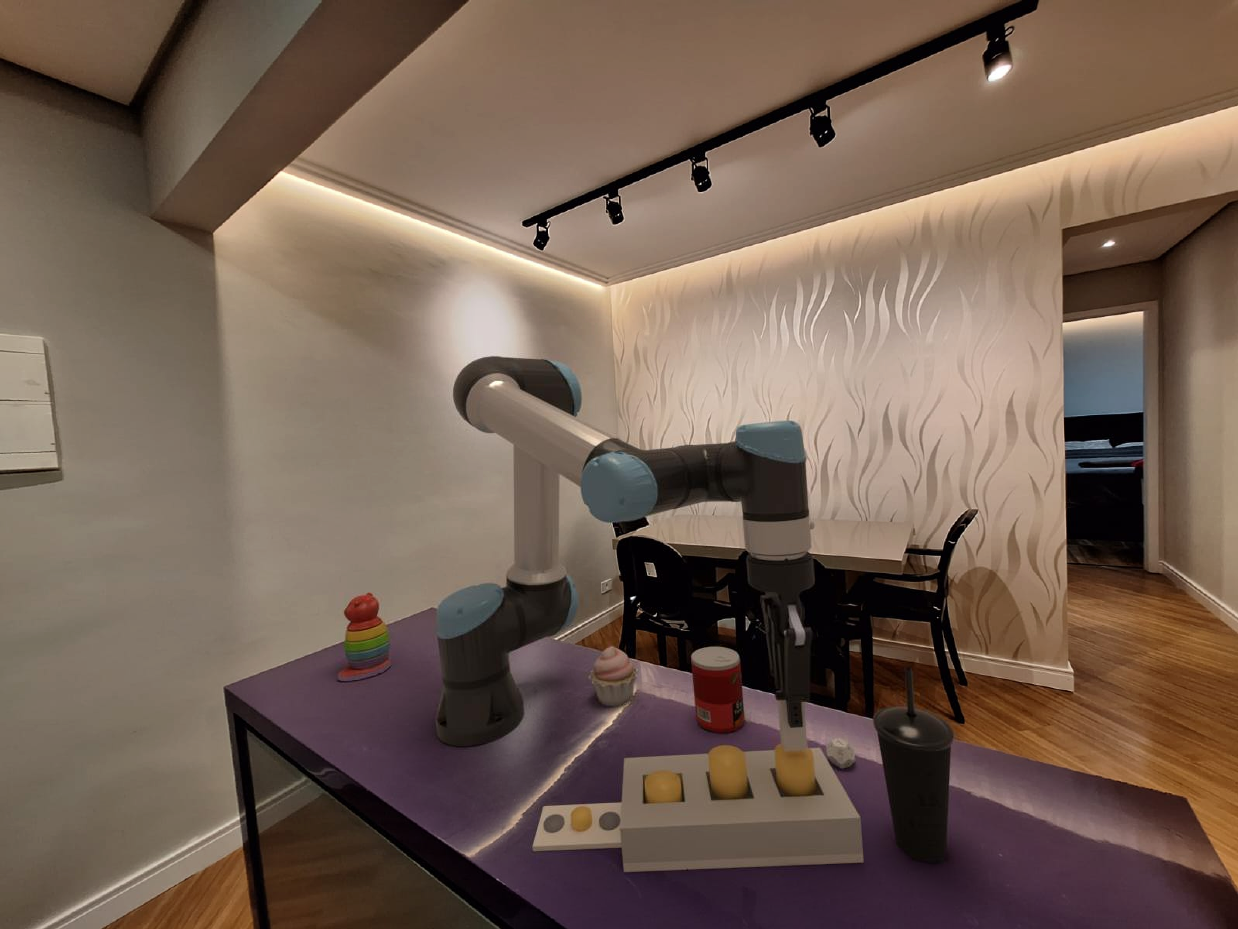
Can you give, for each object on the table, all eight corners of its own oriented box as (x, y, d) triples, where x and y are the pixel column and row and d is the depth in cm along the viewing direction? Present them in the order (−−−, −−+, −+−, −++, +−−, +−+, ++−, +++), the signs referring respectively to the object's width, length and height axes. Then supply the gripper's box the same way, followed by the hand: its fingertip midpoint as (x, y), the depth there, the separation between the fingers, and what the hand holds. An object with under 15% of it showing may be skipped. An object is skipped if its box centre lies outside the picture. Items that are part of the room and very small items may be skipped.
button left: (647, 828, 57) (644, 796, 57) (647, 801, 62) (644, 771, 62) (684, 827, 57) (682, 794, 57) (681, 799, 62) (679, 769, 61)
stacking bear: (364, 660, 119) (356, 589, 118) (402, 659, 118) (394, 587, 117) (332, 682, 108) (323, 604, 108) (374, 681, 107) (365, 602, 106)
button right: (782, 799, 56) (780, 766, 56) (772, 773, 61) (770, 742, 61) (821, 797, 56) (818, 764, 56) (808, 772, 61) (806, 740, 60)
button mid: (713, 803, 57) (710, 769, 57) (708, 777, 61) (706, 746, 61) (751, 801, 57) (748, 767, 56) (743, 775, 61) (741, 744, 61)
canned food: (746, 735, 76) (740, 666, 76) (695, 733, 78) (689, 666, 78) (743, 708, 84) (738, 646, 83) (697, 707, 85) (692, 646, 85)
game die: (839, 775, 66) (837, 753, 66) (821, 758, 70) (820, 738, 69) (861, 768, 67) (859, 747, 67) (843, 752, 70) (841, 732, 70)
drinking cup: (866, 823, 57) (855, 658, 57) (927, 813, 58) (916, 649, 57) (910, 880, 50) (898, 690, 49) (980, 868, 50) (968, 680, 50)
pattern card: (533, 851, 58) (531, 836, 58) (544, 810, 64) (542, 797, 64) (625, 847, 57) (623, 832, 57) (627, 806, 63) (625, 793, 63)
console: (623, 872, 54) (619, 828, 54) (627, 794, 66) (624, 758, 66) (863, 862, 52) (860, 817, 52) (822, 784, 64) (820, 747, 64)
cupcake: (630, 715, 85) (625, 659, 84) (582, 709, 88) (577, 655, 88) (647, 688, 93) (643, 637, 93) (603, 683, 97) (598, 634, 97)
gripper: (832, 563, 51) (849, 783, 51) (793, 538, 64) (807, 714, 64) (759, 568, 51) (777, 786, 52) (736, 543, 64) (750, 718, 65)
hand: (794, 746), depth 58 cm, fingers closed
